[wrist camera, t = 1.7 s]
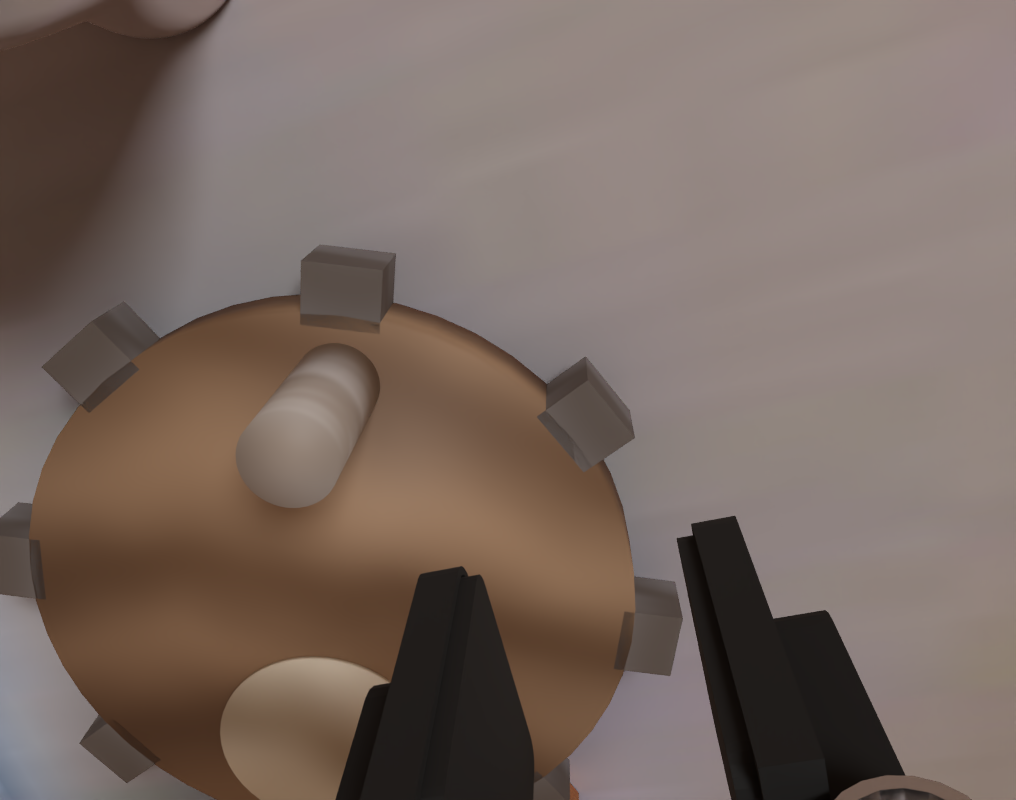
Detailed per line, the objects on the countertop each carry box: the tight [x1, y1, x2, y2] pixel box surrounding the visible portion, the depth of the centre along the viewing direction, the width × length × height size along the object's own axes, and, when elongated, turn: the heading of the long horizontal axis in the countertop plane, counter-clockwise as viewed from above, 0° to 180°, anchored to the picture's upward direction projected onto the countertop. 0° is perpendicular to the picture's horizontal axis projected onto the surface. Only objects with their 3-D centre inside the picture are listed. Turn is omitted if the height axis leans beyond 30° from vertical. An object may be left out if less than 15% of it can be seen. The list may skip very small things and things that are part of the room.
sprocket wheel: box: [0, 245, 683, 800], centre depth 26 cm, size 22×22×7 cm
